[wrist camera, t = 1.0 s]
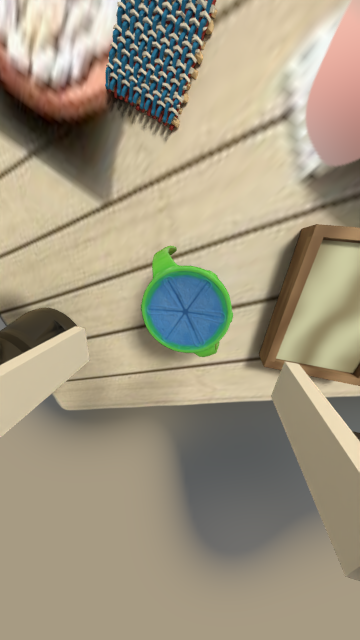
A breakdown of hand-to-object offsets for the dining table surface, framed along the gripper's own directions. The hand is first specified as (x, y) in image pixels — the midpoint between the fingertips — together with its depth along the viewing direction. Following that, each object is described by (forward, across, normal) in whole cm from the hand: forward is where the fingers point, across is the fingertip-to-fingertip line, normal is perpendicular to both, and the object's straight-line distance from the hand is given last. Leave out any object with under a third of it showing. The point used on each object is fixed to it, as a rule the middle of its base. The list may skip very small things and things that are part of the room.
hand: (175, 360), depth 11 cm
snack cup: (+19, -1, 0) cm, 19 cm away
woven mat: (+20, -8, +27) cm, 35 cm away
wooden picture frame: (+18, +19, +1) cm, 27 cm away
